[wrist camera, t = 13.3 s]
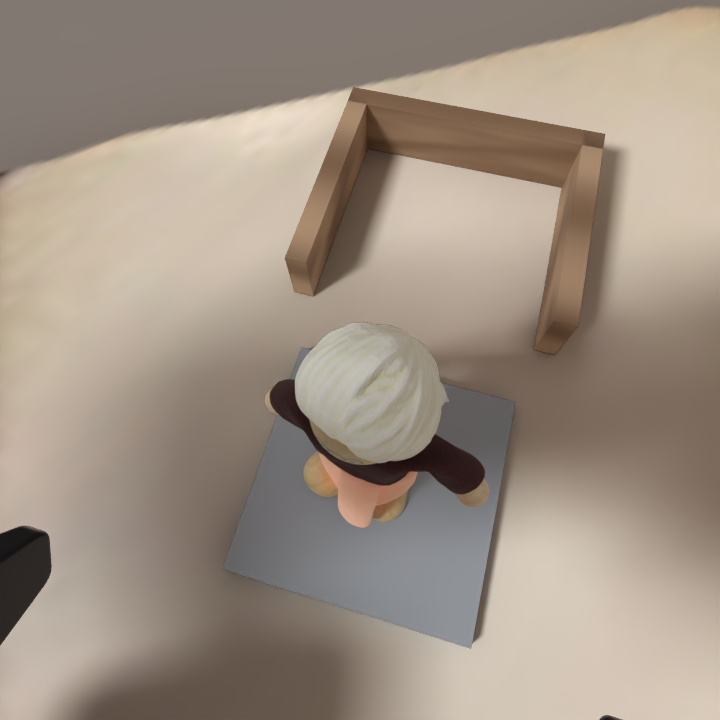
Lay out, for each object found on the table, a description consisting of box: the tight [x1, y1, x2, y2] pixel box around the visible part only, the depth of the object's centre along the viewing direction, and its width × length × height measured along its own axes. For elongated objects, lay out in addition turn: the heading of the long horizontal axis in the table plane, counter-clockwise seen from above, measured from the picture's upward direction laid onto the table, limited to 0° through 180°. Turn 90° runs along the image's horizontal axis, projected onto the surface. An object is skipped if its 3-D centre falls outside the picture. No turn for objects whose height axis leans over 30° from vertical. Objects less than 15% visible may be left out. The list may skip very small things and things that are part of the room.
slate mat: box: [222, 347, 516, 649], centre depth 22 cm, size 10×10×1 cm
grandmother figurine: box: [265, 322, 489, 528], centre depth 16 cm, size 8×4×13 cm, turn 75°
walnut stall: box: [285, 87, 605, 355], centre depth 26 cm, size 11×13×3 cm
